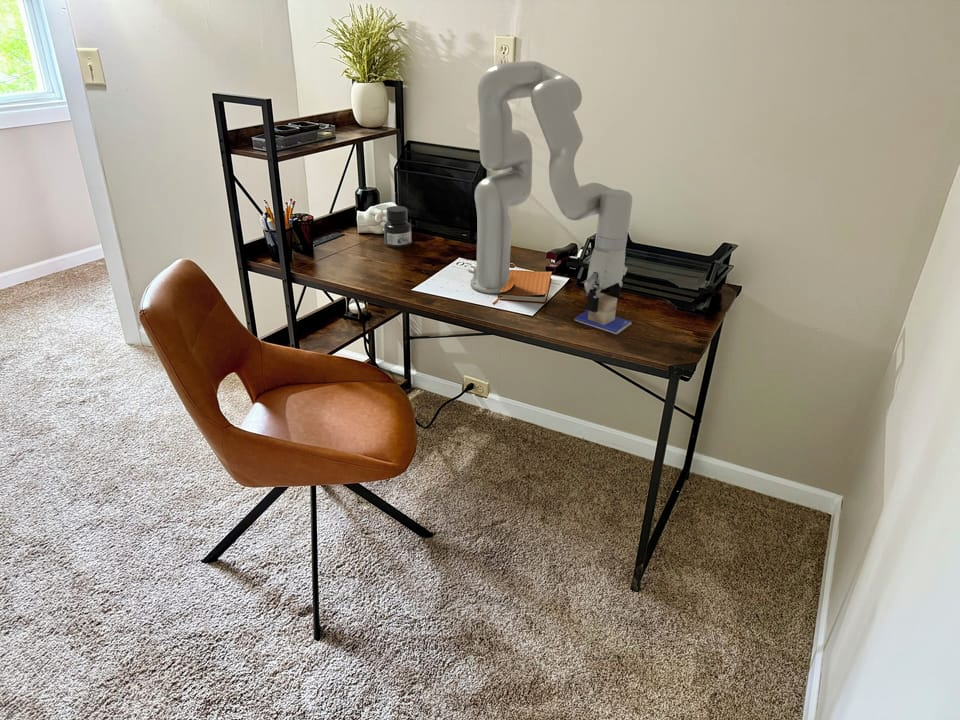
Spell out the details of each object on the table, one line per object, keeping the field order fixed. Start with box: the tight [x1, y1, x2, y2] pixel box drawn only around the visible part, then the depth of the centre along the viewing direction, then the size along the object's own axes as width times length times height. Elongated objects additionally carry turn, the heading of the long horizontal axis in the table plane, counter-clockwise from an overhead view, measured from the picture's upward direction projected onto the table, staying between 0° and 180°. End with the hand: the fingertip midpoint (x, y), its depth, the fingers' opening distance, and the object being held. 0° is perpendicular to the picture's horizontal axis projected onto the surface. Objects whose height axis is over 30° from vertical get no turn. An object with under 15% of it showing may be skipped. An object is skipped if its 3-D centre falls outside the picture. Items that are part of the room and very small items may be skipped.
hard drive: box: [574, 309, 632, 335], centre depth 175 cm, size 2×8×12 cm
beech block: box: [588, 292, 618, 325], centre depth 173 cm, size 5×5×6 cm
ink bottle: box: [383, 205, 412, 249], centre depth 221 cm, size 10×9×12 cm
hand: (602, 305), depth 172 cm, fingers open, 9 cm apart
